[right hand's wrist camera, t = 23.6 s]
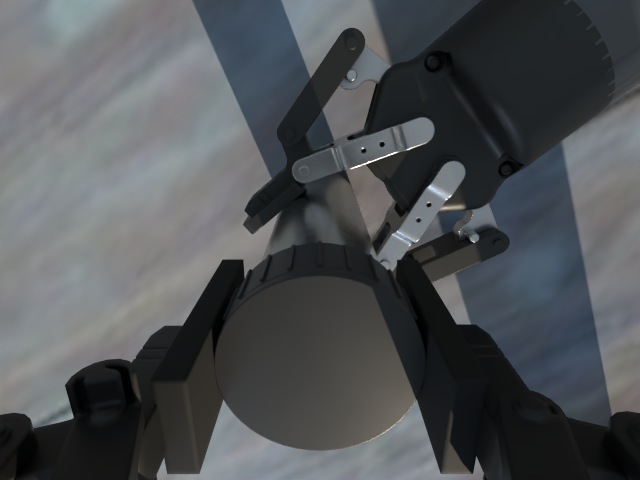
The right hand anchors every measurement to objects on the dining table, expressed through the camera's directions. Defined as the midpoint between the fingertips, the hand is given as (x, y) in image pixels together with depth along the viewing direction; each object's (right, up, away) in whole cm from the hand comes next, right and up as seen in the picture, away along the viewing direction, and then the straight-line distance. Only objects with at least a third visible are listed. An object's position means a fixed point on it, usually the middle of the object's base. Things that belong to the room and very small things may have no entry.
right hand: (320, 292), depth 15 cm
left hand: (-2, +1, +7) cm, 8 cm away
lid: (0, -1, -4) cm, 4 cm away
